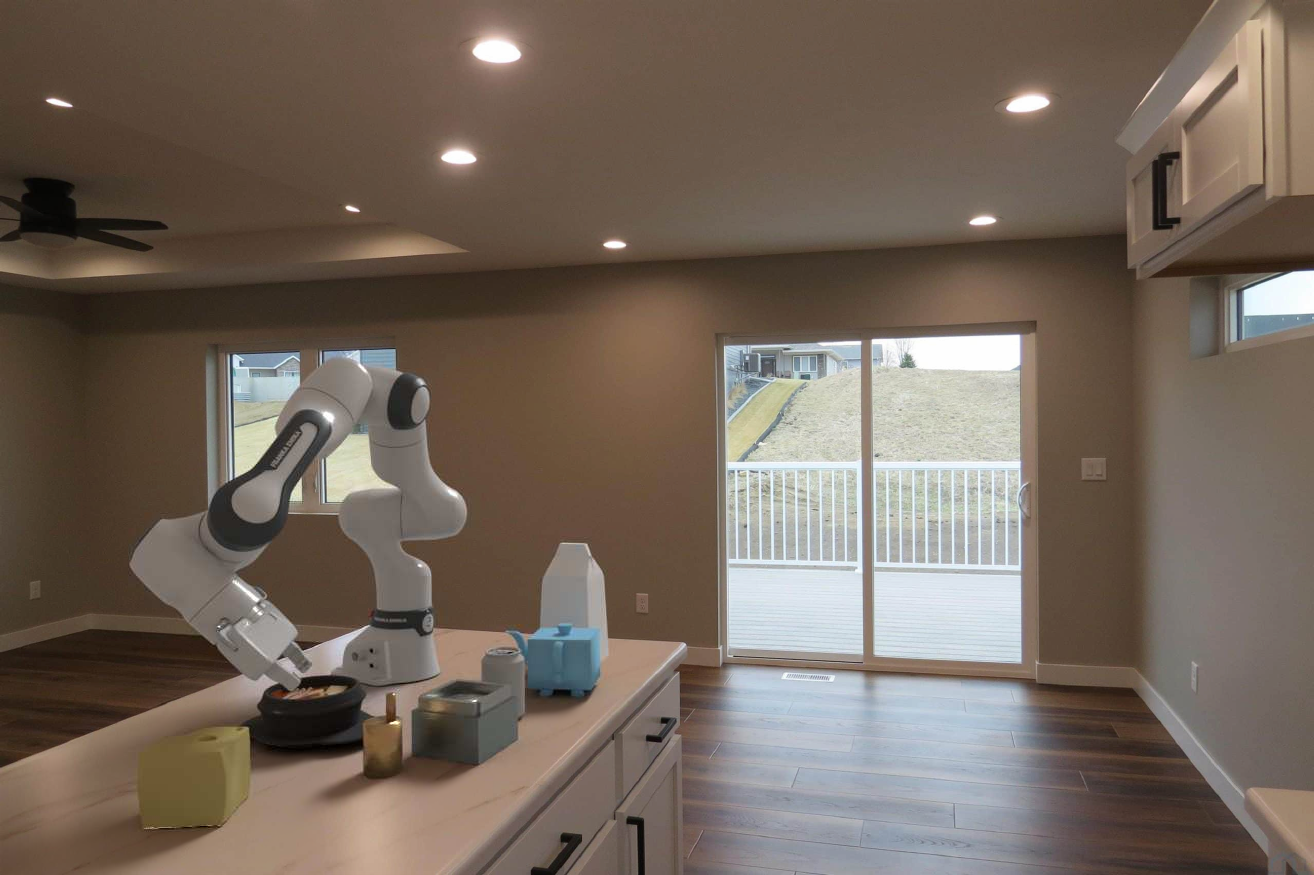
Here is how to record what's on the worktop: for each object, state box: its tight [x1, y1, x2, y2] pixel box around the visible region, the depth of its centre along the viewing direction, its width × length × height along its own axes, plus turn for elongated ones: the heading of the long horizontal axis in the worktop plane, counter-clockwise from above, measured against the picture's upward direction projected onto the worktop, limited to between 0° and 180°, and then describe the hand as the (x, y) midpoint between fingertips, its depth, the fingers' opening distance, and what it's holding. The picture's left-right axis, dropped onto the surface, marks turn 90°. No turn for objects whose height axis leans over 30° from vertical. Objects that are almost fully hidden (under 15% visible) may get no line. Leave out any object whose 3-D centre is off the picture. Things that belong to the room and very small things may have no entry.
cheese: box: [136, 726, 251, 829], centre depth 116 cm, size 10×11×10 cm
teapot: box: [504, 623, 601, 698], centre depth 172 cm, size 18×16×13 cm
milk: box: [539, 542, 610, 663], centre depth 193 cm, size 12×12×26 cm
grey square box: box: [410, 678, 519, 766], centre depth 140 cm, size 12×12×9 cm
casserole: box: [238, 674, 377, 749], centre depth 146 cm, size 25×19×8 cm
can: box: [480, 646, 526, 720], centre depth 155 cm, size 8×8×12 cm
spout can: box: [362, 692, 404, 780], centre depth 130 cm, size 6×6×12 cm
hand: (303, 677), depth 128 cm, fingers open, 8 cm apart
